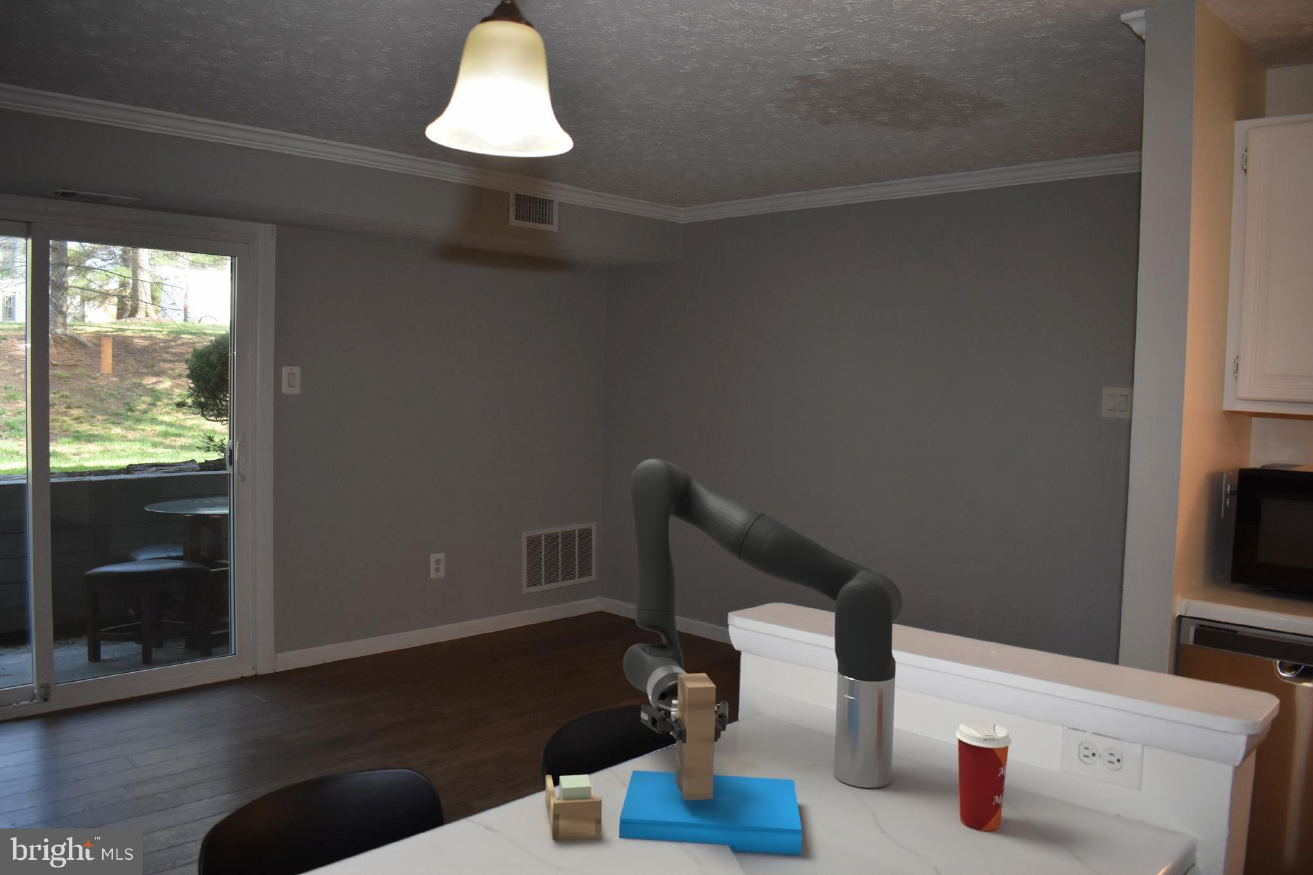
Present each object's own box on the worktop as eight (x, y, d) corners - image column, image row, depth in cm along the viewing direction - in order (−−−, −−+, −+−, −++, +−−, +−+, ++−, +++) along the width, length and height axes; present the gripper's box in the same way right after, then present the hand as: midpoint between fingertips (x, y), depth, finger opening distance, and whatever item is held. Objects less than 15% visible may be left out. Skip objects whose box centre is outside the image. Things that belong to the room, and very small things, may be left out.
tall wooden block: (675, 782, 134) (678, 674, 134) (701, 780, 135) (705, 673, 134) (684, 800, 129) (688, 687, 128) (712, 798, 129) (715, 686, 129)
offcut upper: (559, 796, 130) (559, 776, 130) (587, 795, 131) (587, 774, 131) (561, 809, 126) (562, 788, 126) (590, 807, 127) (591, 786, 127)
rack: (545, 804, 138) (546, 765, 138) (589, 801, 139) (589, 762, 139) (552, 846, 125) (553, 803, 125) (600, 843, 126) (601, 800, 126)
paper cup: (1015, 835, 132) (1019, 739, 131) (961, 833, 132) (965, 737, 131) (996, 810, 140) (1000, 720, 139) (945, 809, 140) (949, 718, 139)
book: (631, 770, 143) (793, 776, 141) (630, 797, 143) (793, 804, 141) (618, 820, 126) (803, 828, 124) (618, 851, 126) (802, 859, 124)
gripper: (630, 673, 144) (651, 711, 127) (718, 670, 147) (750, 707, 130) (628, 720, 144) (649, 764, 127) (716, 716, 147) (748, 759, 130)
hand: (700, 735), depth 129 cm, fingers closed on tall wooden block, 4 cm apart
